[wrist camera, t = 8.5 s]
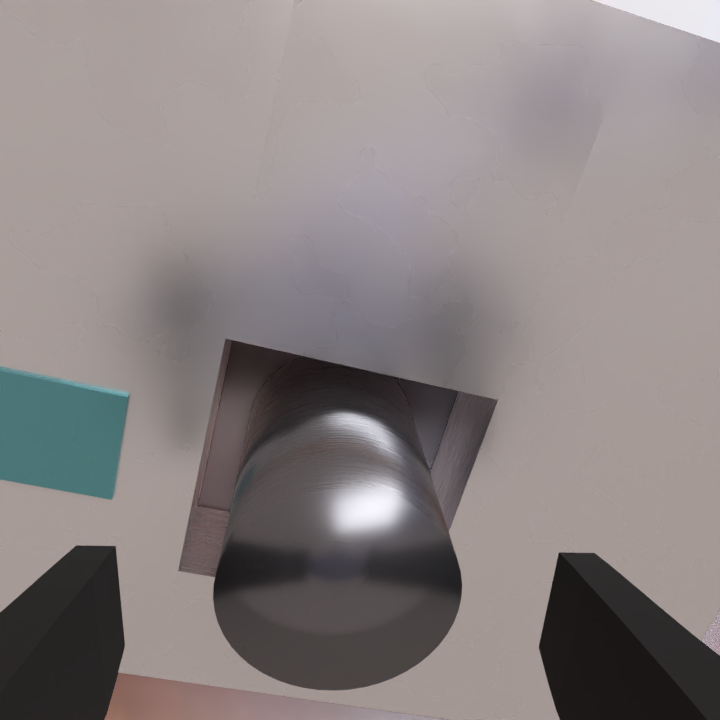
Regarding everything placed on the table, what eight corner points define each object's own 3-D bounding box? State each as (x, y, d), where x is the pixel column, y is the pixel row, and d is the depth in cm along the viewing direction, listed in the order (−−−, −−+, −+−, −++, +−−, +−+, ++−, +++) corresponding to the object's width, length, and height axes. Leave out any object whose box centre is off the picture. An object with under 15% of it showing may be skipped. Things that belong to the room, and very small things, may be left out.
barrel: (417, 354, 15) (475, 492, 10) (404, 496, 17) (448, 689, 11) (249, 348, 15) (209, 489, 9) (250, 494, 16) (216, 692, 11)
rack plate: (881, 131, 14) (999, 134, 12) (601, 670, 19) (641, 750, 17) (-92, -185, 11) (-208, -268, 9) (-104, 557, 16) (-177, 634, 14)
